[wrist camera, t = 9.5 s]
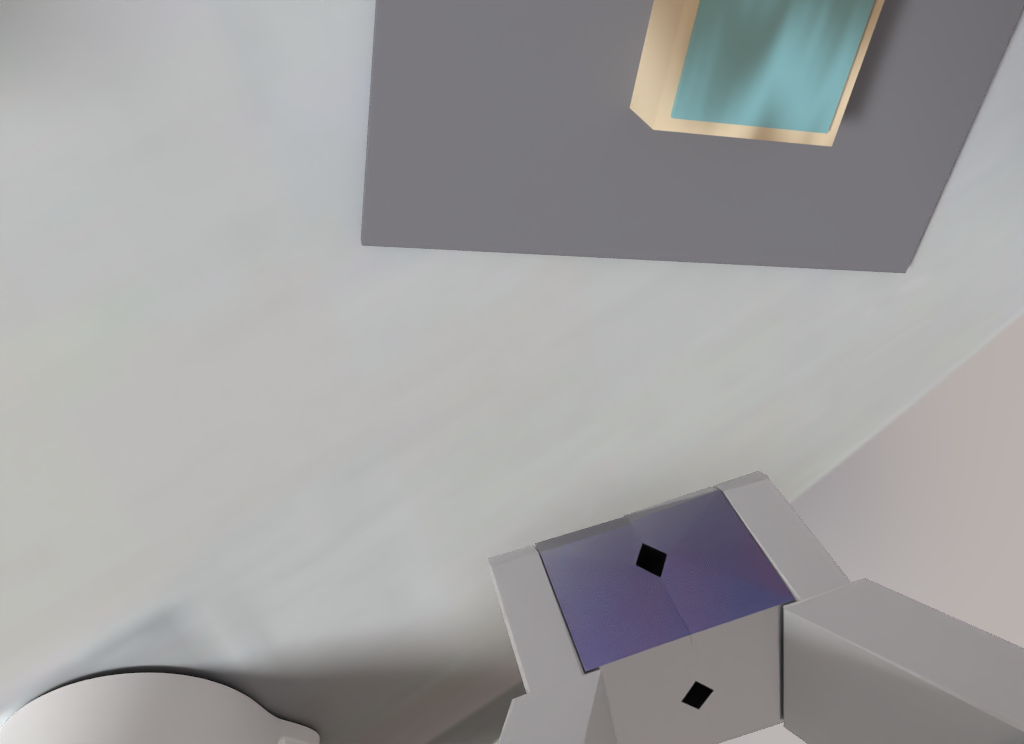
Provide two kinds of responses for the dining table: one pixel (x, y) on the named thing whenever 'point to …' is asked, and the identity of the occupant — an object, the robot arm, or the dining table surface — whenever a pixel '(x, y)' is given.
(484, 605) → the dining table surface
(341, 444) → the dining table surface
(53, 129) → the dining table surface
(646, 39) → the birch tile
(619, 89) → the rubber mat
